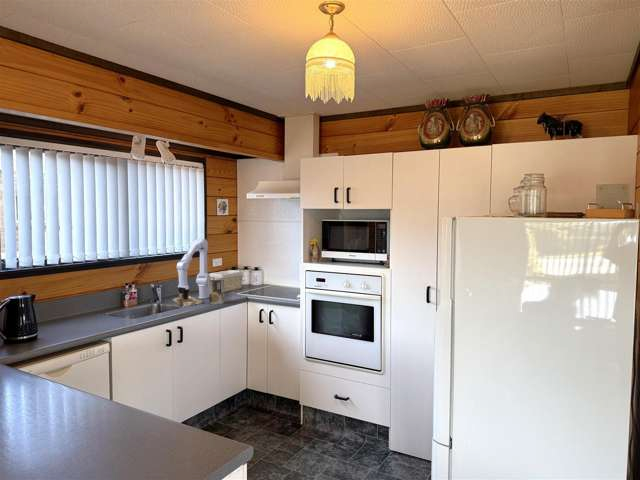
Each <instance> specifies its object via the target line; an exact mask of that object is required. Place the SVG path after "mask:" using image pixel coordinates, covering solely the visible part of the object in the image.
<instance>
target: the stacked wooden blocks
mask: <svg viewBox="0 0 640 480" xmlns="http://www.w3.org/2000/svg"><path fill="white" fill-rule="evenodd" d="M178 295H179V296H178V297H176V298H177V303H176V304H177V305H178V306H184V305H183V302H182V301H188V300H193V298H194V297H193V298H189V296H190V294H189V292H188V297H187V299H184V298H183V293H180V292H179V294H178Z"/></svg>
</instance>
